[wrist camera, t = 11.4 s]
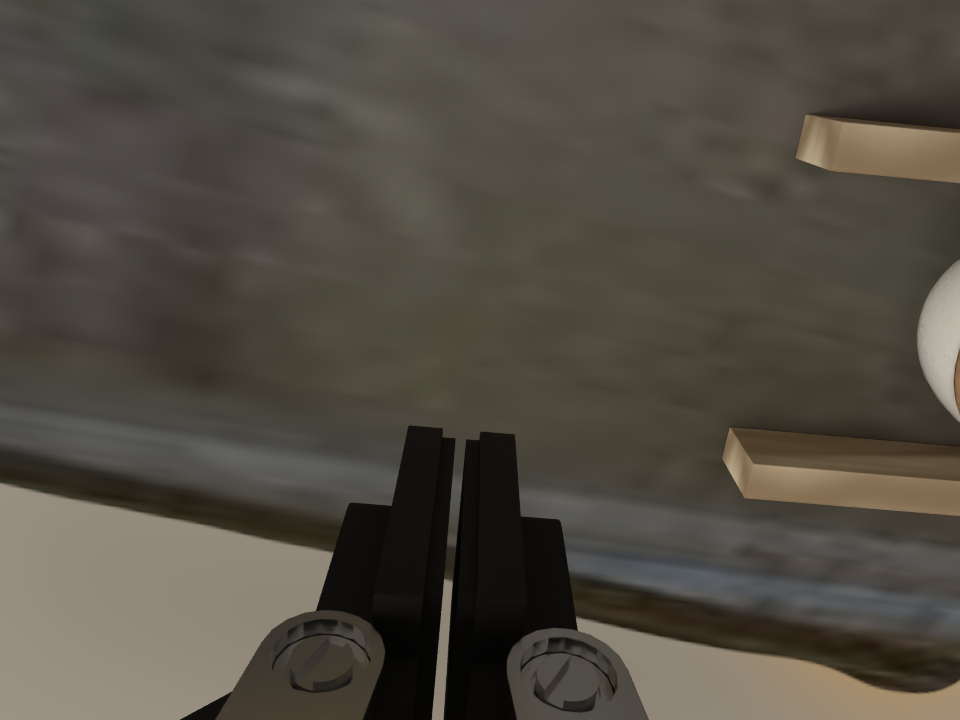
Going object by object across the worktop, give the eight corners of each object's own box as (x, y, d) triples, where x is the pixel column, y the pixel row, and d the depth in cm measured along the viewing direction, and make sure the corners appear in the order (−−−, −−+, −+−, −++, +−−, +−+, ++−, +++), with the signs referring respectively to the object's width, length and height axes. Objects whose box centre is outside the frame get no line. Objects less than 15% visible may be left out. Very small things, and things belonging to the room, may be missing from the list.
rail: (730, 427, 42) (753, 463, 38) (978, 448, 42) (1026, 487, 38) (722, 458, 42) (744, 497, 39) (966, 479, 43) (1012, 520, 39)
